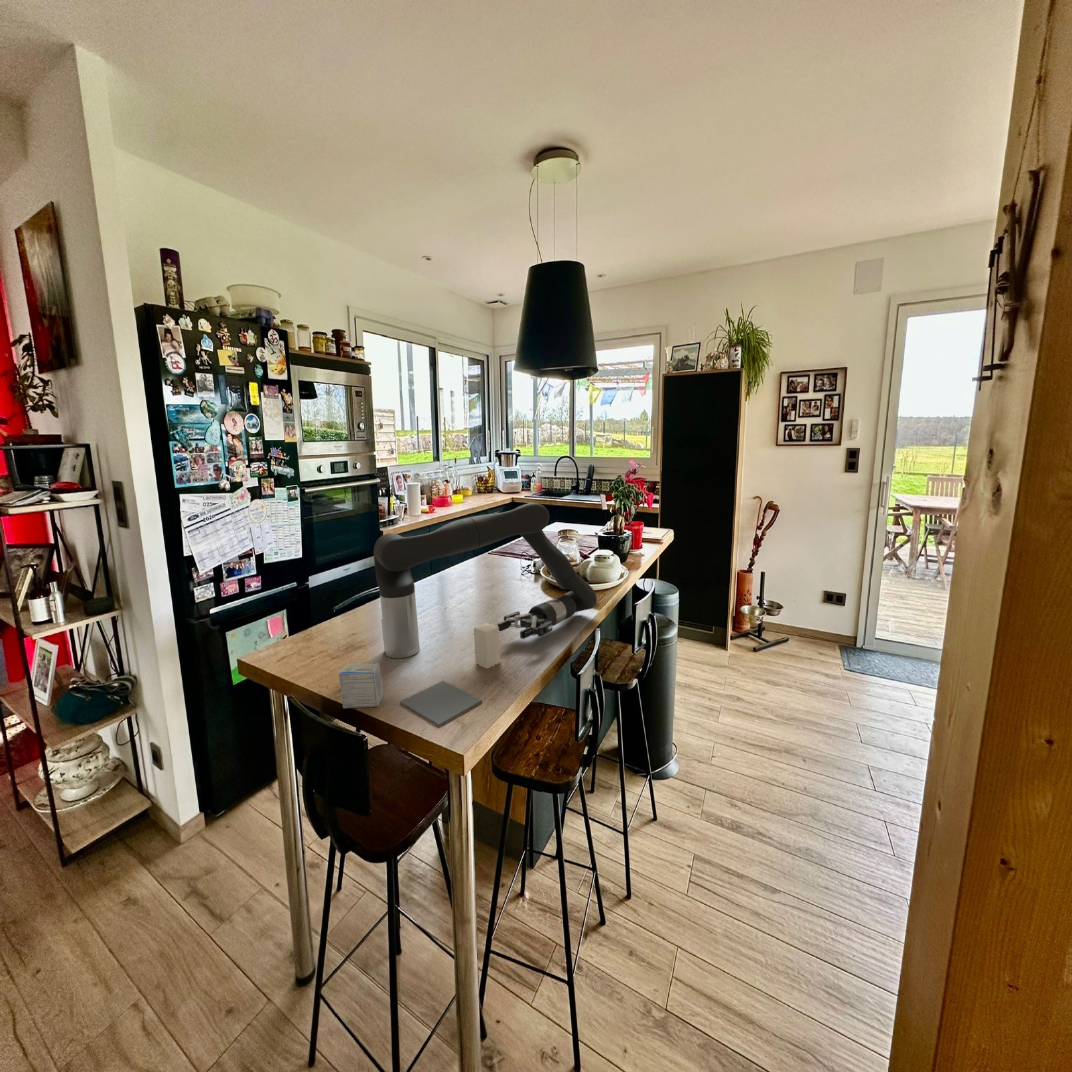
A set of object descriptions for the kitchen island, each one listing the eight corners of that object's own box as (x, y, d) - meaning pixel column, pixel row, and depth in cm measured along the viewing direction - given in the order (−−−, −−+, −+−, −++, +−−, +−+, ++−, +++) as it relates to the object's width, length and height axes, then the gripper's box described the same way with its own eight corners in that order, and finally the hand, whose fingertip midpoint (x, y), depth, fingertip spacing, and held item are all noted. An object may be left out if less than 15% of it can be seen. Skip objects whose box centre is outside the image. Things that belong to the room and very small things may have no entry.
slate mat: (400, 703, 110) (400, 701, 110) (442, 682, 118) (442, 680, 118) (438, 727, 101) (438, 724, 100) (482, 702, 109) (481, 700, 109)
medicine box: (383, 697, 113) (380, 662, 111) (378, 707, 109) (374, 671, 107) (349, 698, 113) (345, 663, 111) (342, 709, 108) (338, 673, 106)
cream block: (475, 663, 128) (473, 628, 126) (488, 657, 131) (486, 622, 129) (487, 668, 125) (485, 632, 123) (500, 662, 128) (498, 626, 126)
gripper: (529, 597, 149) (491, 612, 137) (566, 607, 139) (528, 624, 128) (530, 620, 150) (492, 637, 138) (567, 632, 141) (529, 651, 129)
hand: (509, 631), depth 133 cm, fingers open, 8 cm apart
